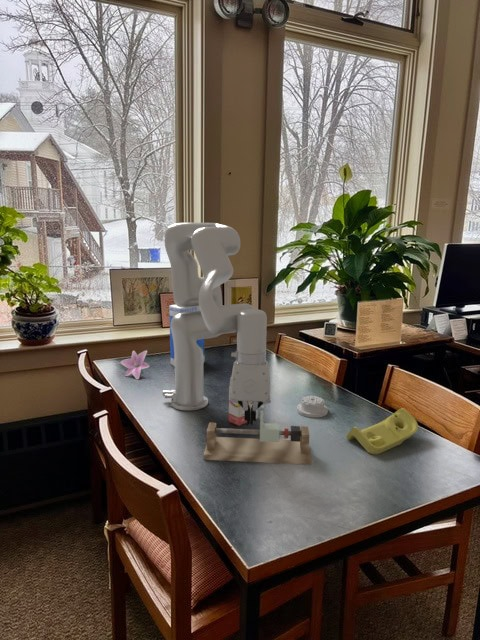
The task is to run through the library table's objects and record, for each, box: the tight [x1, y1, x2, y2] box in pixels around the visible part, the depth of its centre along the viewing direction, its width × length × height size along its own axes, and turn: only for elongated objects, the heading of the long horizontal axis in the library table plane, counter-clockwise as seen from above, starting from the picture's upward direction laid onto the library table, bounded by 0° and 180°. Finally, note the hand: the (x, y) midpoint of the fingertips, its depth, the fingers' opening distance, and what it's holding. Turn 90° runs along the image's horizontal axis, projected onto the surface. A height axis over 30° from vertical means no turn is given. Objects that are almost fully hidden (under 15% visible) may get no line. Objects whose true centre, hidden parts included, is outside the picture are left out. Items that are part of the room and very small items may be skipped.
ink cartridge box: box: [228, 375, 259, 427], centre depth 145 cm, size 9×5×15 cm, turn 135°
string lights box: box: [168, 304, 206, 367], centre depth 197 cm, size 13×8×26 cm, turn 133°
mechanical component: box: [296, 395, 329, 418], centre depth 153 cm, size 10×4×10 cm
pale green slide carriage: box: [259, 404, 280, 442], centre depth 125 cm, size 5×4×9 cm
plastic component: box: [345, 407, 419, 456], centre depth 134 cm, size 20×7×10 cm
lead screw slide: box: [203, 422, 312, 465], centre depth 126 cm, size 28×10×8 cm, turn 86°
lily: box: [120, 349, 151, 380], centre depth 185 cm, size 12×12×10 cm
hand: (250, 422), depth 125 cm, fingers closed
